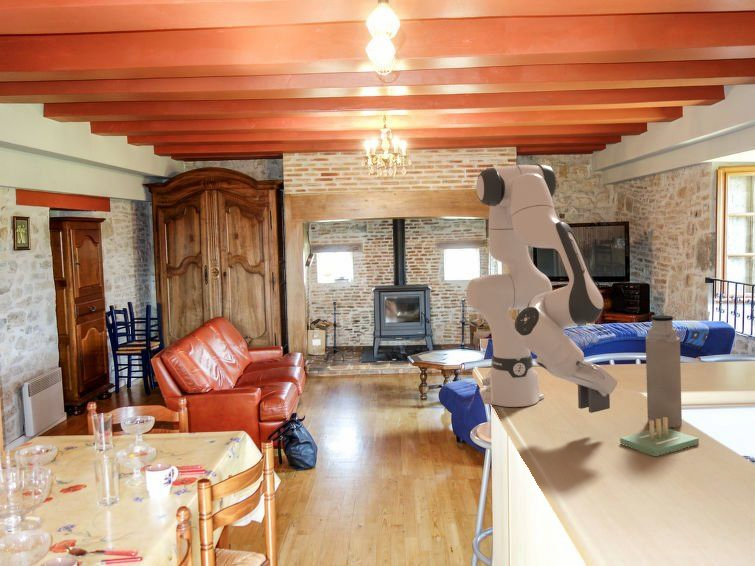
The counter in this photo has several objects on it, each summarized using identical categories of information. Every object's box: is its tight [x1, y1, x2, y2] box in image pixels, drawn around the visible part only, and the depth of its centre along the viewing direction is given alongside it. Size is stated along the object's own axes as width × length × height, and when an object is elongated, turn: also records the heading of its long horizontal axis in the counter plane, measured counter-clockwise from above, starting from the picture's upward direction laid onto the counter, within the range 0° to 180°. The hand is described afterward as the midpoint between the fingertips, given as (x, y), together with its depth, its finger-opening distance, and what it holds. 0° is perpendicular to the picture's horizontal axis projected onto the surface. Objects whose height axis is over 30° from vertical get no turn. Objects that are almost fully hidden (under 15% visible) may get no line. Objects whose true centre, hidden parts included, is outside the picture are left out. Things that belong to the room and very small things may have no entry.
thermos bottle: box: [645, 314, 683, 429], centre depth 155 cm, size 8×8×28 cm
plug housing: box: [577, 384, 611, 414], centre depth 151 cm, size 6×4×8 cm
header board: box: [619, 417, 700, 457], centre depth 142 cm, size 14×10×6 cm
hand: (595, 390), depth 152 cm, fingers closed on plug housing, 4 cm apart
